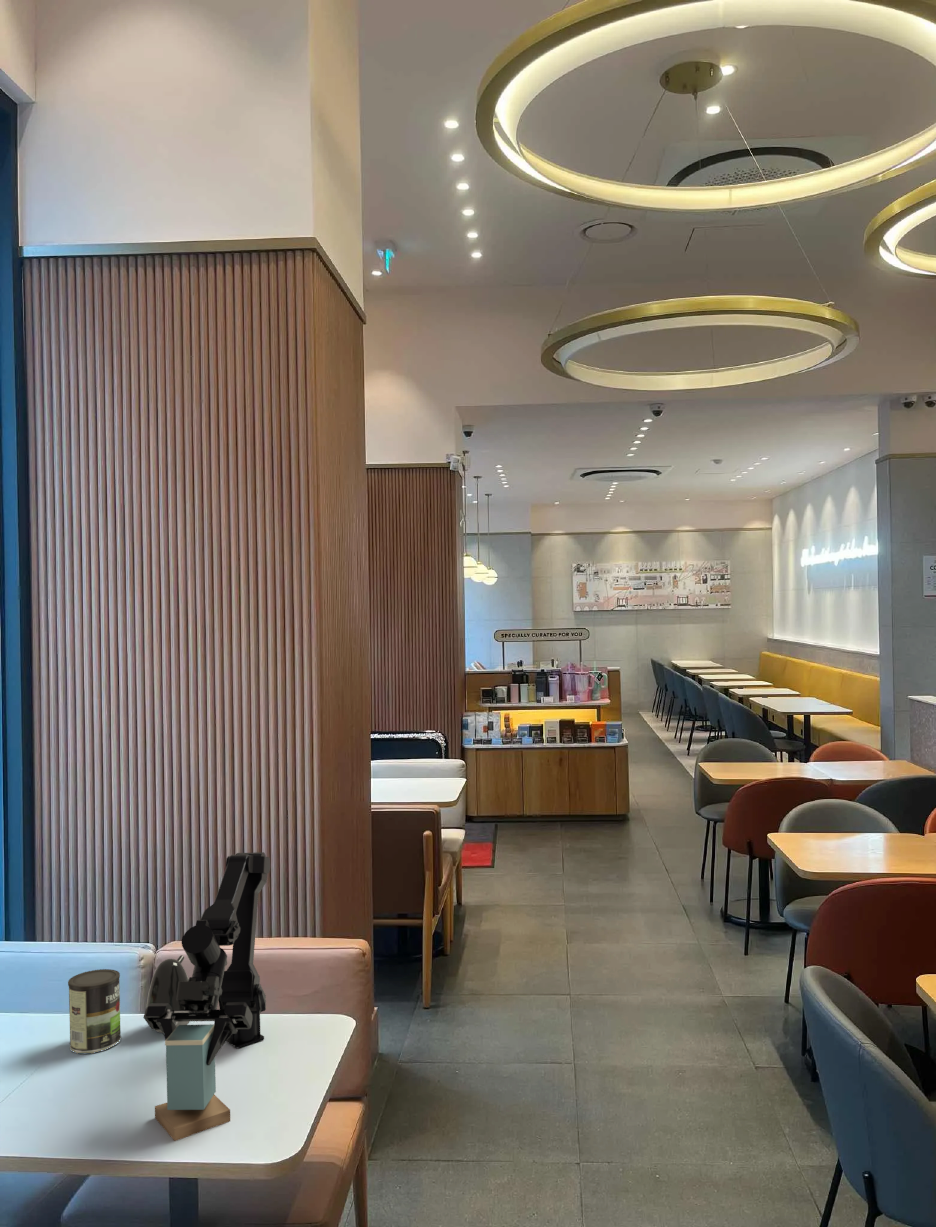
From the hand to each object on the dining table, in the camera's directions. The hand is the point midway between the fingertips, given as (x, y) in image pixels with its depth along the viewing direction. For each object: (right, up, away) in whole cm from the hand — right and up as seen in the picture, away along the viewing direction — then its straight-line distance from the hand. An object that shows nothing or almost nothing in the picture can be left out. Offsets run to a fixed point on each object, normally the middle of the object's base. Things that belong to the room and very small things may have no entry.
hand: (188, 1064), depth 165 cm
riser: (0, -11, +1) cm, 11 cm away
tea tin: (0, -7, +1) cm, 7 cm away
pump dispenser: (-16, -12, +41) cm, 45 cm away
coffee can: (-30, -12, +34) cm, 47 cm away
